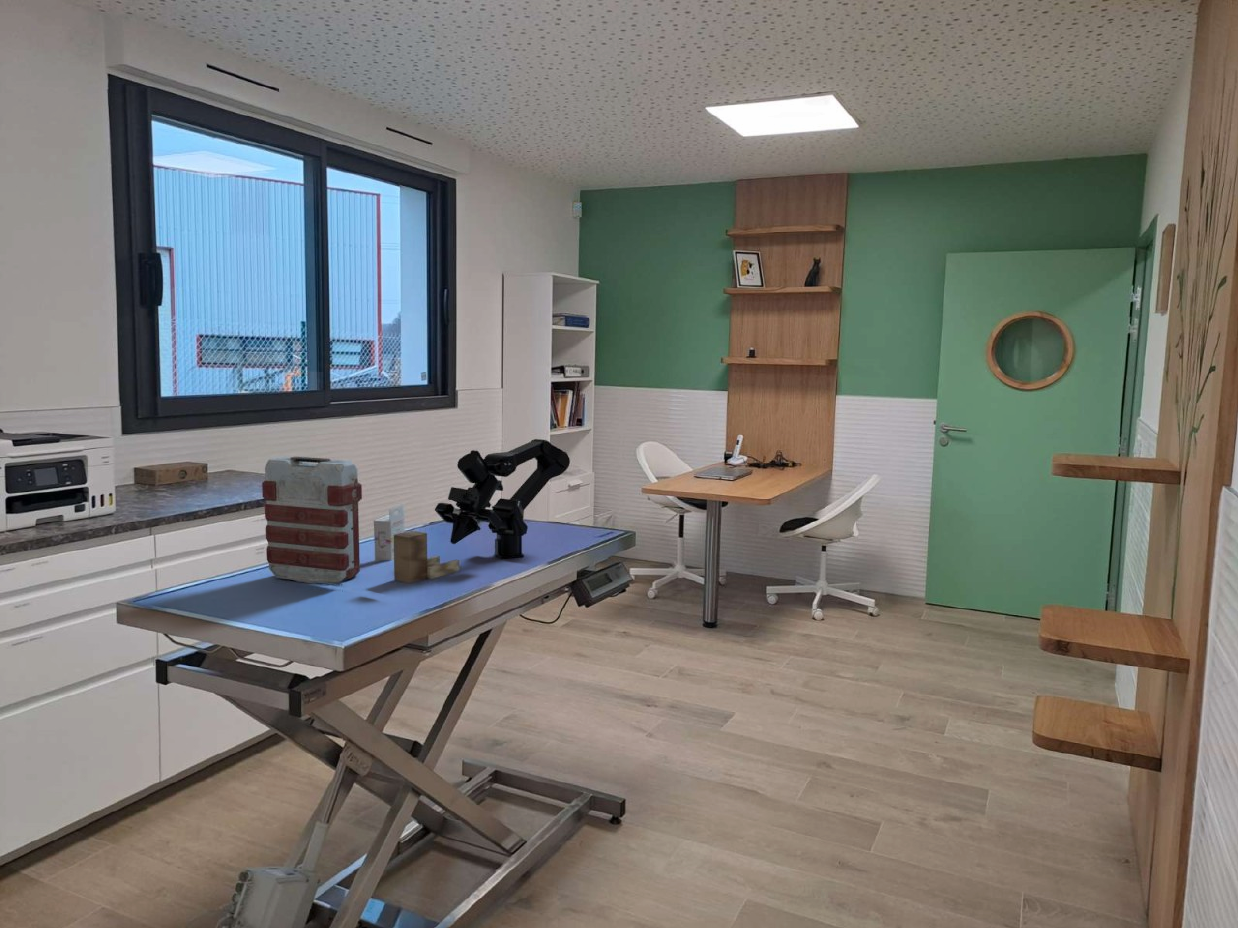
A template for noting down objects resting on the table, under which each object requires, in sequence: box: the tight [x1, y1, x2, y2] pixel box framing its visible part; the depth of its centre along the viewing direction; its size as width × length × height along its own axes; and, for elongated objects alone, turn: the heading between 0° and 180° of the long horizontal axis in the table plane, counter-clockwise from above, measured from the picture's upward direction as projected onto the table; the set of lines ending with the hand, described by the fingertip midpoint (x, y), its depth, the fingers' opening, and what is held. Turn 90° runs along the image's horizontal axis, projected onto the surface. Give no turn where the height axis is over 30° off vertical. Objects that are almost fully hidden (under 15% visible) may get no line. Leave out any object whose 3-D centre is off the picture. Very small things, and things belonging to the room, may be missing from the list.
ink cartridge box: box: [373, 504, 406, 563], centre depth 239 cm, size 9×5×15 cm, turn 168°
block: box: [393, 530, 428, 584], centre depth 217 cm, size 6×5×11 cm
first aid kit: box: [261, 456, 363, 586], centre depth 218 cm, size 23×8×30 cm, turn 71°
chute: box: [427, 555, 460, 580], centre depth 222 cm, size 18×10×4 cm, turn 147°
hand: (452, 543), depth 228 cm, fingers closed
